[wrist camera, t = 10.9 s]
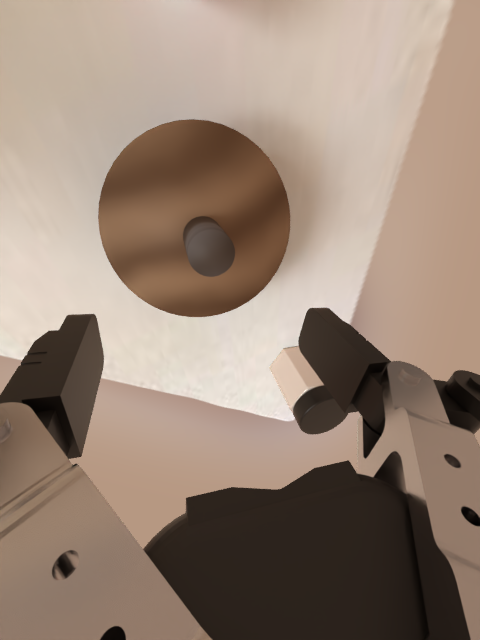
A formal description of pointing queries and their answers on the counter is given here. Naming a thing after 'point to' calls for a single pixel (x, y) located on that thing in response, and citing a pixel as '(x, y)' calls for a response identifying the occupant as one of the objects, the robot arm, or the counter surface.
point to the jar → (305, 393)
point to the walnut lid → (194, 218)
